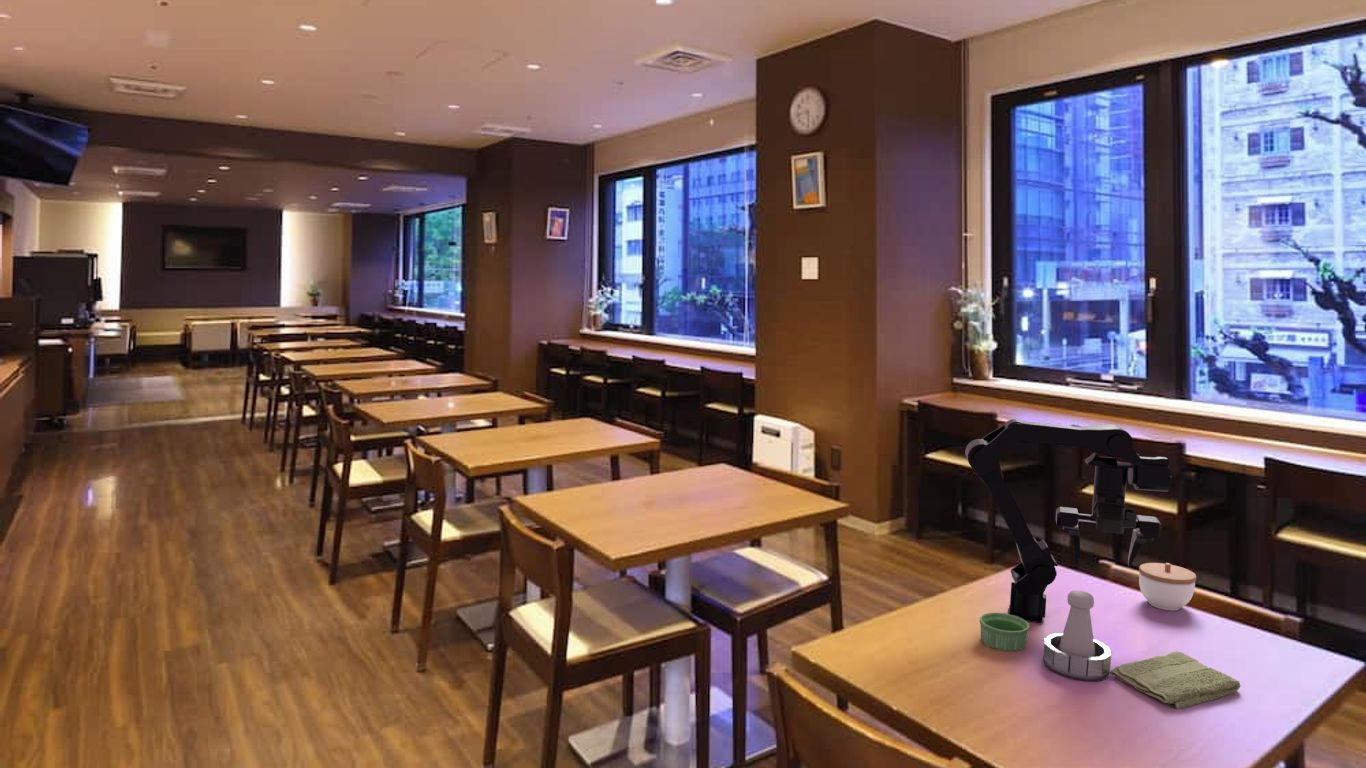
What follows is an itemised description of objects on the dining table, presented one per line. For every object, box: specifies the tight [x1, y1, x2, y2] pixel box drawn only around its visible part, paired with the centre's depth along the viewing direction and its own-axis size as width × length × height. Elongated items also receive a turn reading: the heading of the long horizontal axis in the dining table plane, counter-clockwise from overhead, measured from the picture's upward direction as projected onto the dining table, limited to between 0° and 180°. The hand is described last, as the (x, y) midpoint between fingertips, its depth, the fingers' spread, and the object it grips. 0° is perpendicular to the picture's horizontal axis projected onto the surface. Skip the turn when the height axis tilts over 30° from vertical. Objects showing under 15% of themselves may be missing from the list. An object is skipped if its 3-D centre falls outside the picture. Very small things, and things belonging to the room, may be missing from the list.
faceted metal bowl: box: [1042, 632, 1112, 683], centre depth 148 cm, size 11×11×4 cm
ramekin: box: [979, 612, 1030, 653], centre depth 158 cm, size 9×9×4 cm
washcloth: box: [1110, 650, 1241, 710], centre depth 142 cm, size 13×18×3 cm
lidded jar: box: [1138, 562, 1197, 612], centre depth 177 cm, size 11×11×9 cm
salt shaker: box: [1060, 590, 1095, 657], centre depth 147 cm, size 6×6×13 cm
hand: (1103, 562), depth 166 cm, fingers open, 9 cm apart
